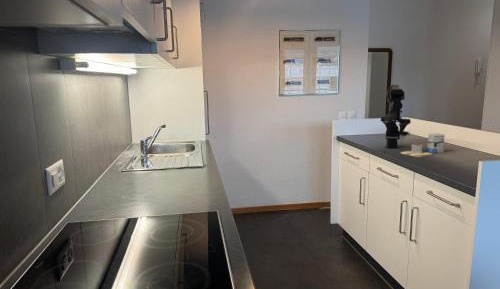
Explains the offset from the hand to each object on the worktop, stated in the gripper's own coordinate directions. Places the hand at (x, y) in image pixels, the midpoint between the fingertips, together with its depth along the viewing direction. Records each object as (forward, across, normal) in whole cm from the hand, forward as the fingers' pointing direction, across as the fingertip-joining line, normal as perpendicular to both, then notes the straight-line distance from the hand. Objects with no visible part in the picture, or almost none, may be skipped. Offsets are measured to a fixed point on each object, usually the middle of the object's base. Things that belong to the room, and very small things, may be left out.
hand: (394, 133), depth 227 cm
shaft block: (+12, +10, +9) cm, 18 cm away
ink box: (+13, +12, +24) cm, 30 cm away
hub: (+12, +10, +9) cm, 18 cm away
